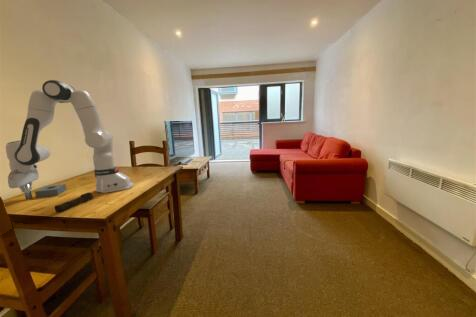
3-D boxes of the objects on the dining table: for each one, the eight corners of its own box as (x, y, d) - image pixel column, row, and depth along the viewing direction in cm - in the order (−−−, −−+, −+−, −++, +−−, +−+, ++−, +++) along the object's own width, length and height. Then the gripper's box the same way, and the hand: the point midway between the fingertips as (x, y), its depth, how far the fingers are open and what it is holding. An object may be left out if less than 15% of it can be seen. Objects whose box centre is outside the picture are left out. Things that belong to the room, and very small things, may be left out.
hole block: (66, 189, 138) (65, 184, 137) (58, 195, 128) (56, 189, 127) (46, 191, 135) (45, 186, 134) (36, 197, 125) (34, 191, 124)
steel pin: (33, 197, 125) (30, 181, 123) (30, 199, 123) (26, 183, 121) (27, 198, 125) (23, 182, 123) (24, 200, 122) (20, 184, 120)
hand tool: (60, 213, 102) (58, 204, 101) (55, 212, 103) (53, 204, 102) (96, 199, 119) (95, 191, 118) (91, 198, 121) (90, 191, 120)
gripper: (15, 171, 111) (22, 195, 114) (38, 164, 130) (43, 185, 133) (0, 173, 109) (7, 197, 112) (26, 165, 128) (31, 186, 131)
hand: (27, 190), depth 123 cm, fingers closed on steel pin, 3 cm apart
